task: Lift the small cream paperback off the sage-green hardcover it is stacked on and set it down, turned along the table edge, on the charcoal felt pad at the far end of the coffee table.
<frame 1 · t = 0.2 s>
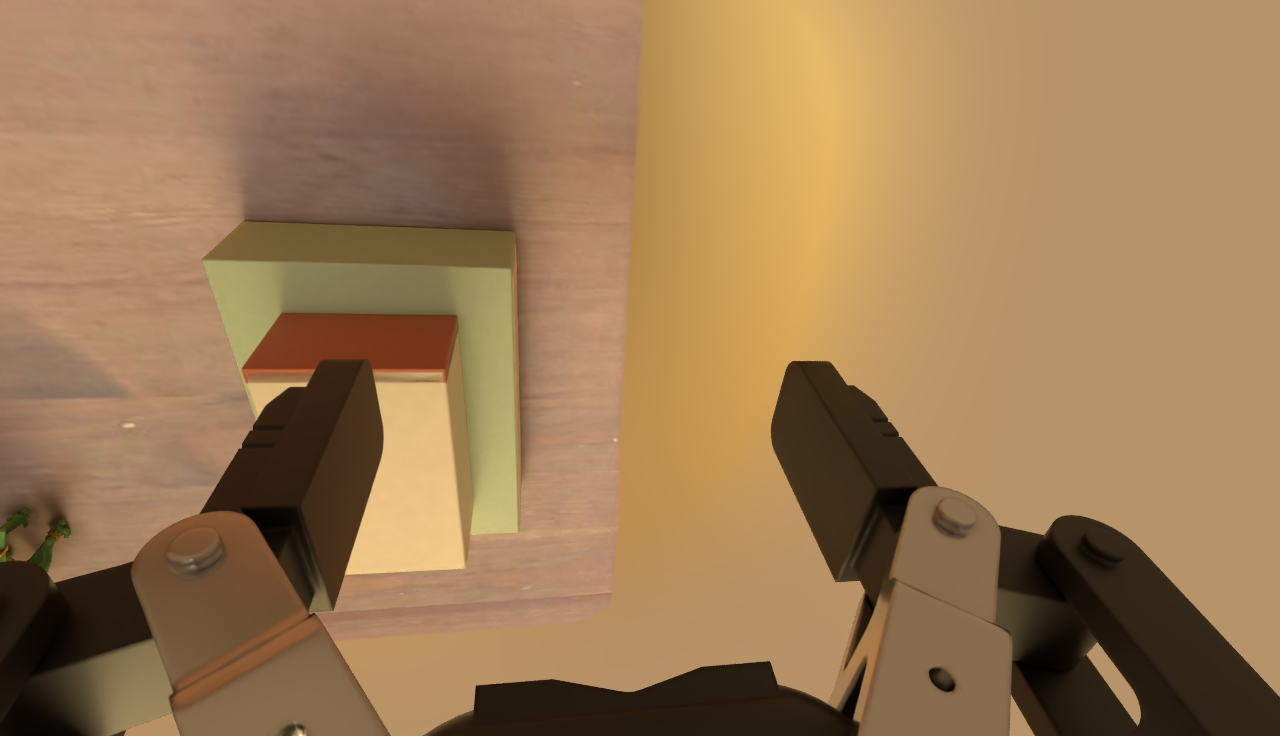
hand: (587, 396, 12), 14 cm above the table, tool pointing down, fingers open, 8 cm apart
top book: (390, 422, 24), point 3 cm above the table, touching bottom book
figurine: (44, 521, 30), on the table
bottom book: (406, 373, 27), on the table, touching top book
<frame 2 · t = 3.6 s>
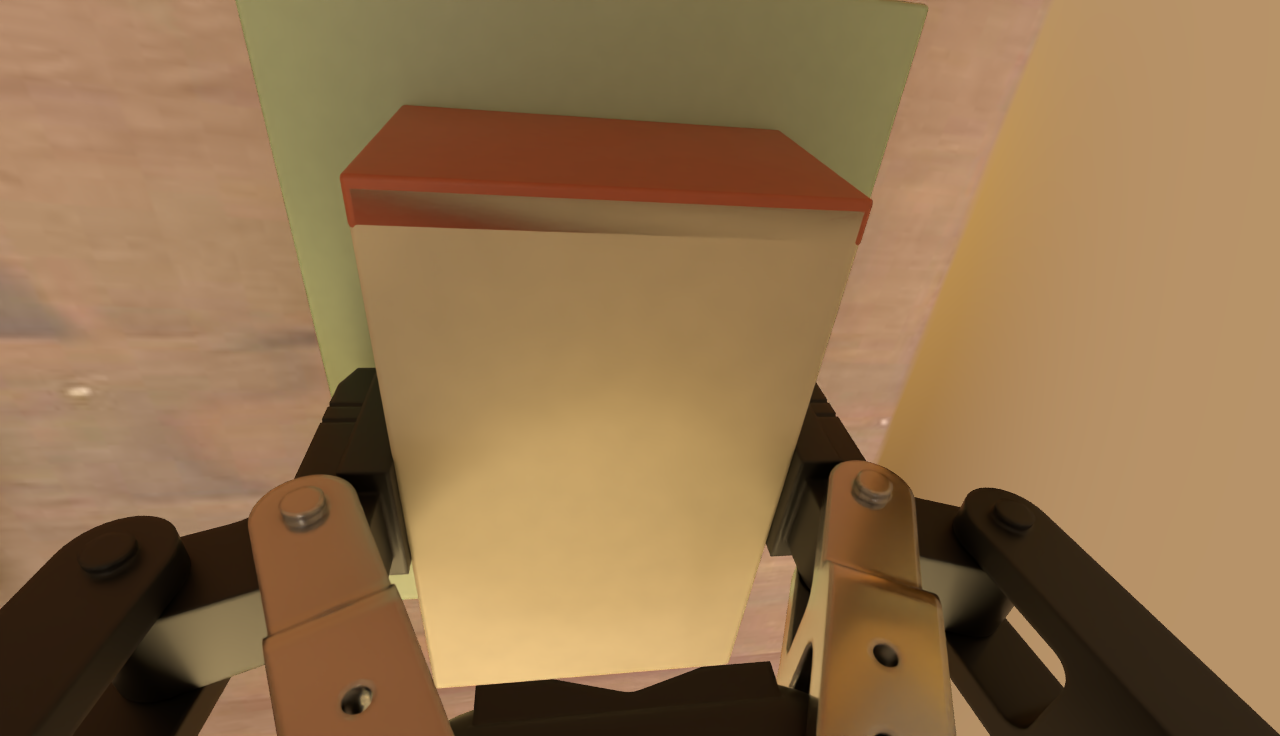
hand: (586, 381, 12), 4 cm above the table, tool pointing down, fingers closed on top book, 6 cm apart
top book: (587, 378, 12), point 4 cm above the table, touching bottom book, gripper
bottom book: (578, 298, 15), on the table, touching top book
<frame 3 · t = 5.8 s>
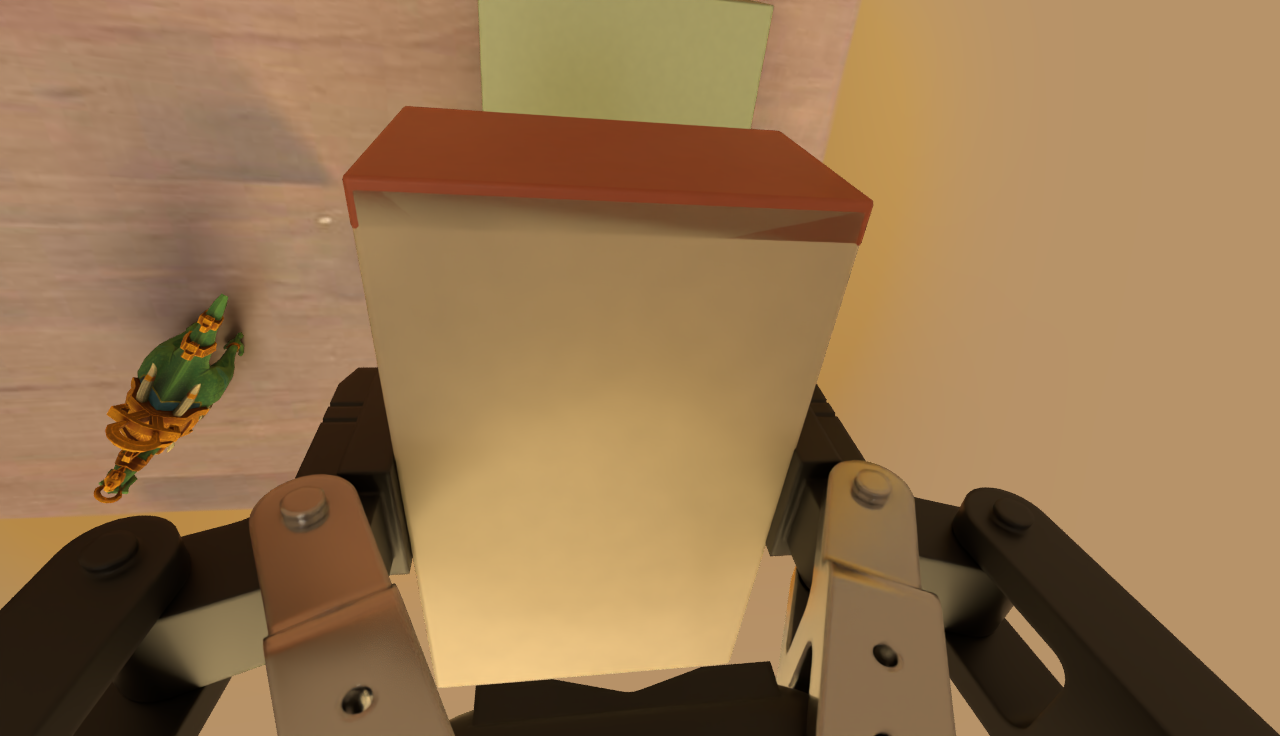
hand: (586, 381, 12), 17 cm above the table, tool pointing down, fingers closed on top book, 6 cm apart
top book: (588, 378, 12), point 17 cm above the table, touching gripper
figurine: (219, 337, 29), on the table
bottom book: (607, 171, 27), on the table
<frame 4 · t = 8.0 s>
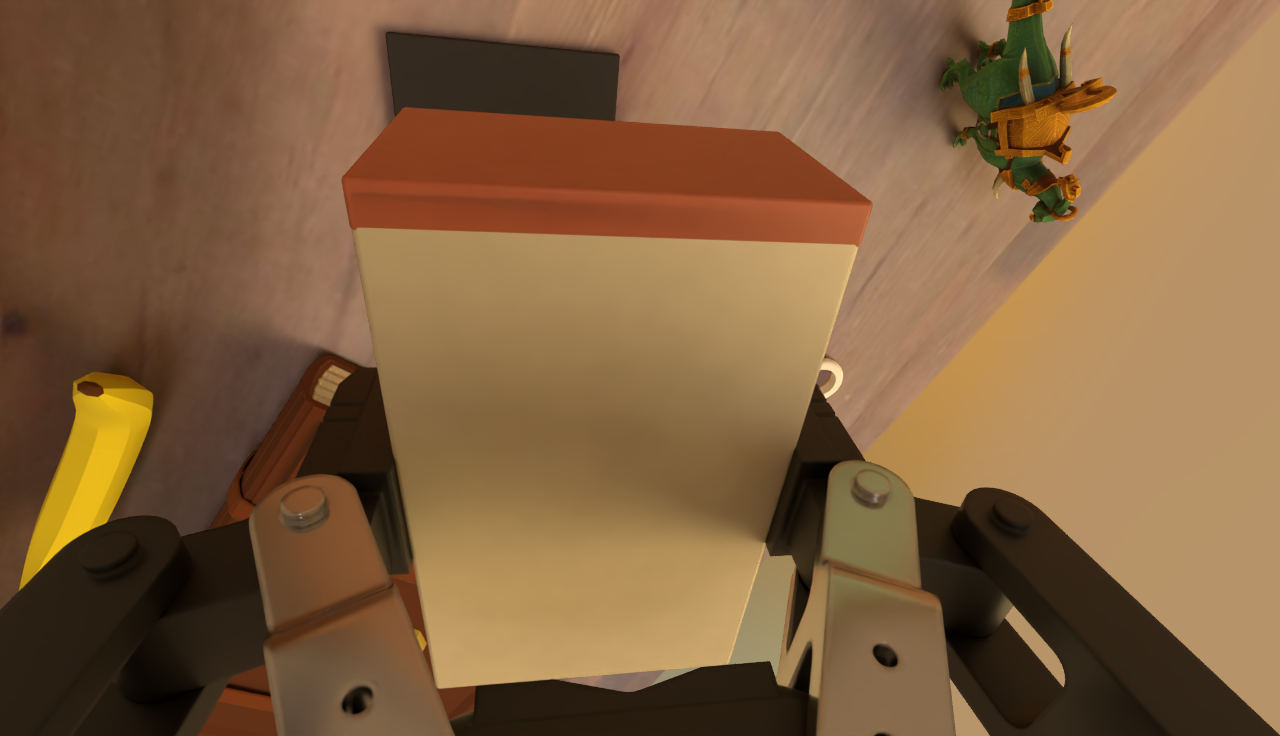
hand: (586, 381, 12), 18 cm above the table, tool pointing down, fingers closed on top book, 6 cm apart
felt pad: (509, 213, 28), on the table
top book: (587, 379, 12), point 17 cm above the table, touching gripper
book: (385, 582, 41), on the table
fidget spinner: (794, 394, 37), on the table
figurine: (963, 72, 27), on the table
banana: (119, 438, 32), on the table
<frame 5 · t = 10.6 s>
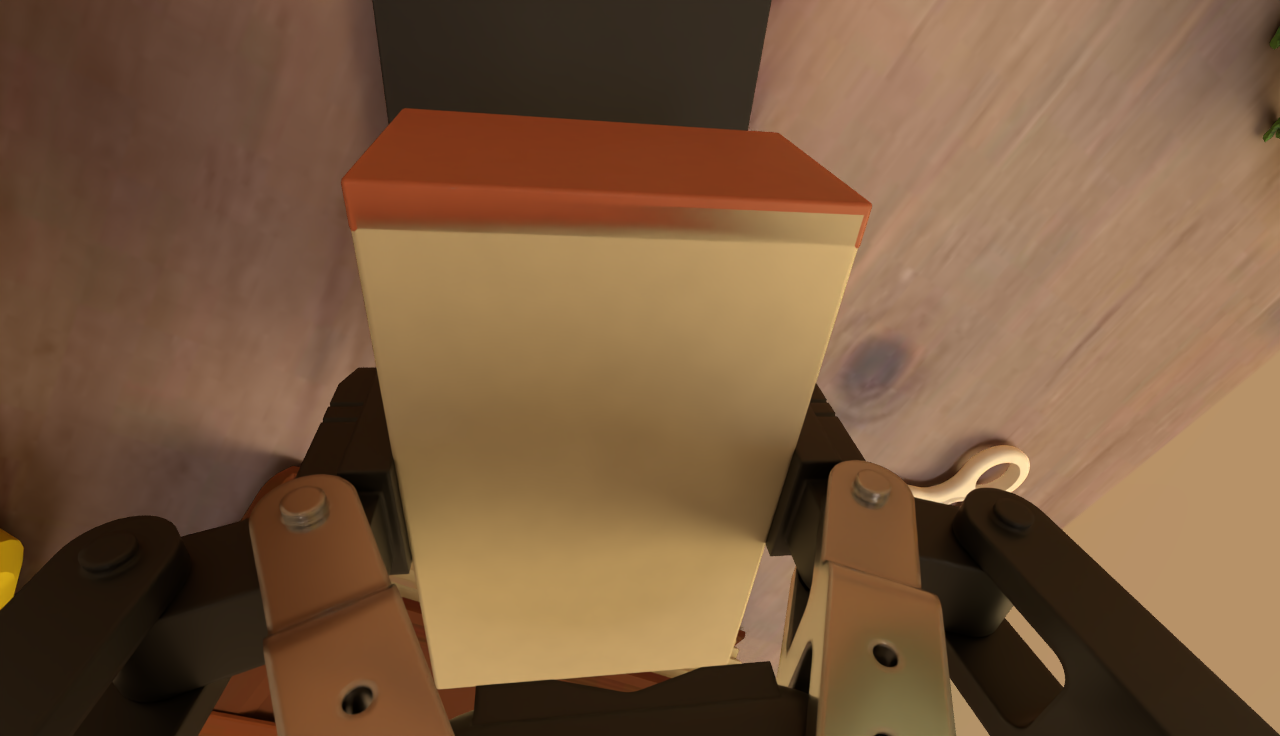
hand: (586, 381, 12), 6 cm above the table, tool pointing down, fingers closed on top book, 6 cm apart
felt pad: (570, 253, 17), on the table
top book: (587, 379, 12), point 6 cm above the table, touching gripper
book: (383, 729, 31), on the table
fidget spinner: (951, 491, 26), on the table
when the fingers open (1 cm above the table, at t = 12.6 s): top book stays where it is, resting on felt pad.
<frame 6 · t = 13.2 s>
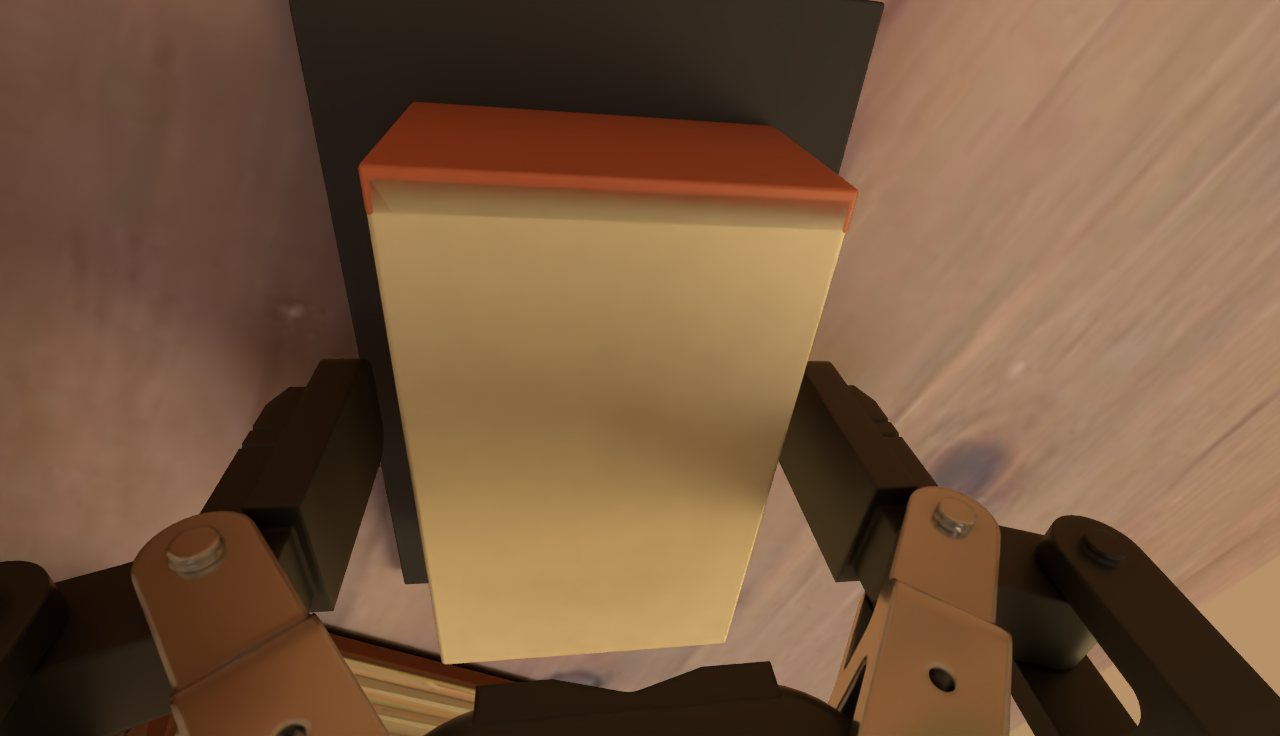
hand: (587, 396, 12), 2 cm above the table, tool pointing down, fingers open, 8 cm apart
felt pad: (584, 355, 13), on the table
top book: (588, 366, 13), resting on felt pad
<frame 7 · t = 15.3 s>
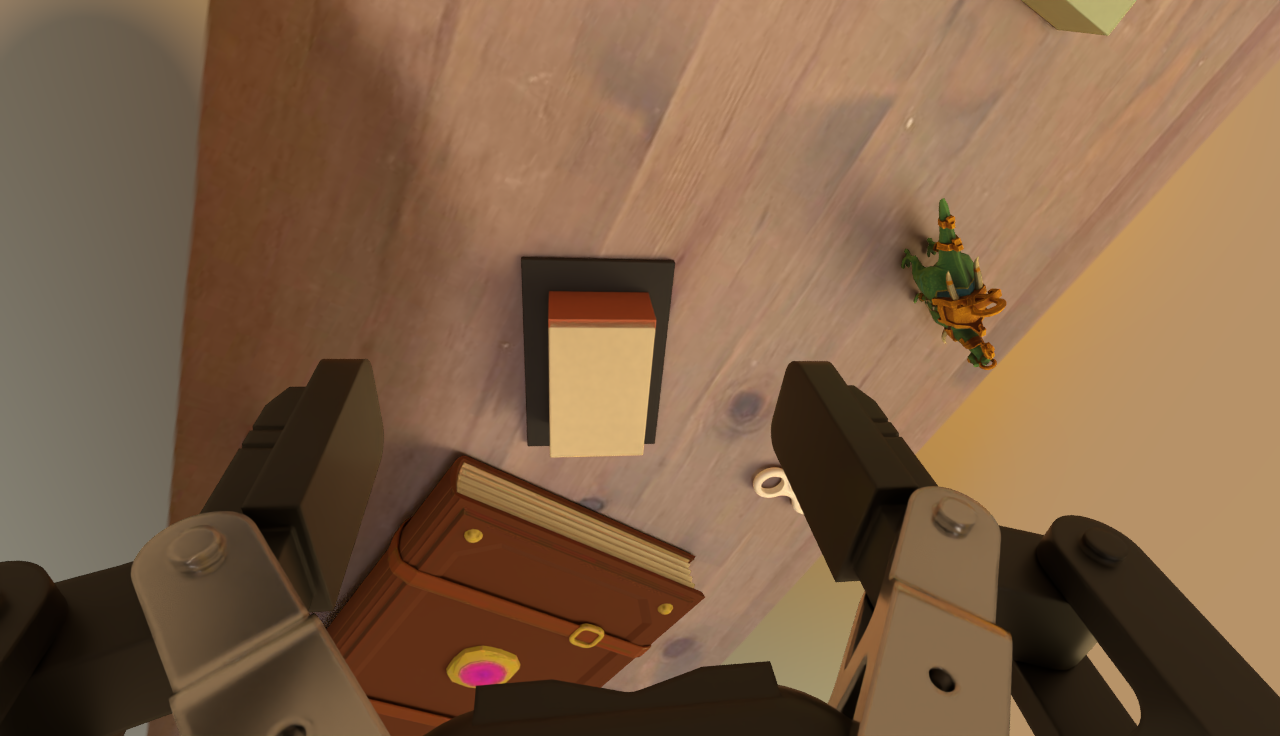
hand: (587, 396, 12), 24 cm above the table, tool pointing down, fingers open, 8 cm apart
felt pad: (595, 358, 39), on the table
top book: (596, 362, 39), resting on felt pad
book: (483, 615, 53), on the table
fidget spinner: (803, 471, 47), on the table
figurine: (917, 255, 38), on the table
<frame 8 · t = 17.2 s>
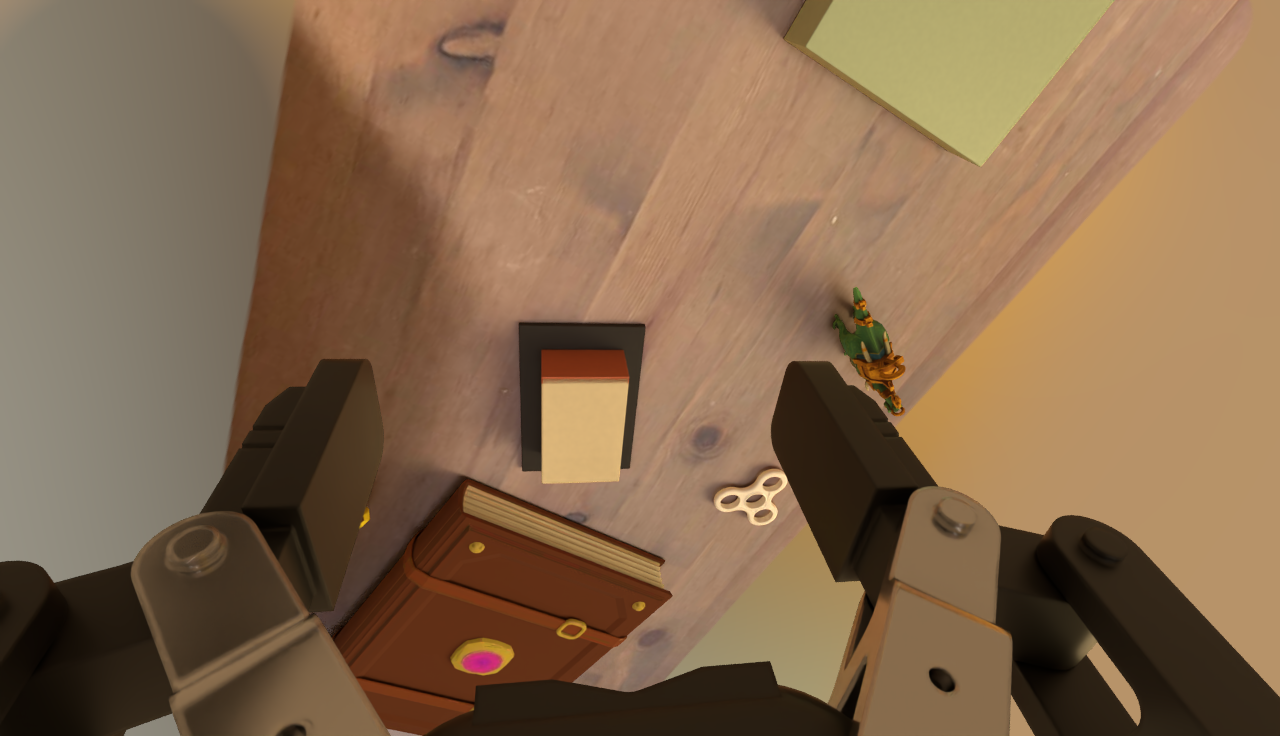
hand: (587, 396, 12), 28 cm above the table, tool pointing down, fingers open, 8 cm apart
felt pad: (579, 401, 47), on the table
top book: (580, 404, 47), resting on felt pad
book: (481, 611, 61), on the table
fidget spinner: (756, 489, 56), on the table
figurine: (846, 318, 46), on the table
bottom book: (928, 16, 35), on the table
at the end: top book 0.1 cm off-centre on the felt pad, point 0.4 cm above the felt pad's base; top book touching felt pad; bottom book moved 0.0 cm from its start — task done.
